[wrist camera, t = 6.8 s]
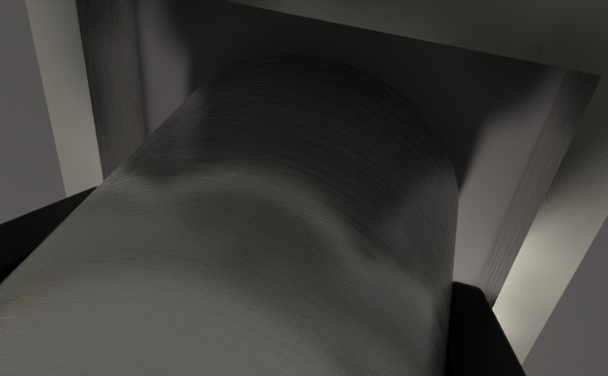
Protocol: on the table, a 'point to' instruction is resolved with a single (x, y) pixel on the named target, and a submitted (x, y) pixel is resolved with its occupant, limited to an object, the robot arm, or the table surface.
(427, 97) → the grey flat block
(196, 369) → the lens
